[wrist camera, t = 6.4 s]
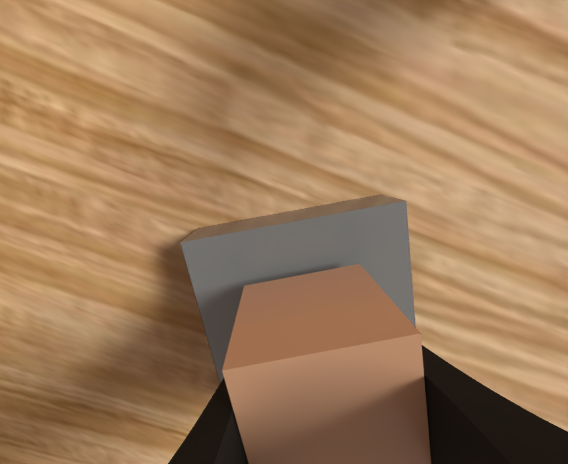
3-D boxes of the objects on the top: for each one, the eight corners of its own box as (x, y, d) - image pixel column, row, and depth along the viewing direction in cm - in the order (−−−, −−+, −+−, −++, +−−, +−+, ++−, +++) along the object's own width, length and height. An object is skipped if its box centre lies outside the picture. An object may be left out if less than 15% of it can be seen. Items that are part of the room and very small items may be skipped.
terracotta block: (372, 362, 11) (432, 483, 7) (267, 382, 12) (263, 514, 7) (359, 263, 10) (420, 333, 6) (244, 285, 10) (222, 370, 6)
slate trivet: (393, 348, 16) (420, 389, 13) (239, 376, 16) (231, 423, 13) (377, 193, 14) (406, 200, 11) (200, 226, 14) (180, 242, 11)
